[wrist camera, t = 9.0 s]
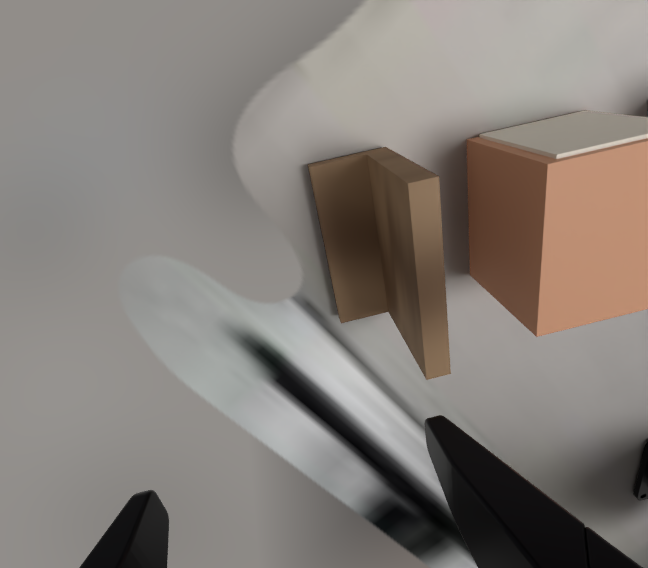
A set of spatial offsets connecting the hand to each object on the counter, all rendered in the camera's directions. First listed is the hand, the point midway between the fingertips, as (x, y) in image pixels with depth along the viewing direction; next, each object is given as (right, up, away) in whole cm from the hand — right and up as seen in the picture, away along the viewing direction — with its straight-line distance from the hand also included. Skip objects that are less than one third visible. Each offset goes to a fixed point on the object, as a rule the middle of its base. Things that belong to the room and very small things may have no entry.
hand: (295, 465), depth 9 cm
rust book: (+11, +8, +11) cm, 18 cm away
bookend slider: (+2, +6, +11) cm, 13 cm away
